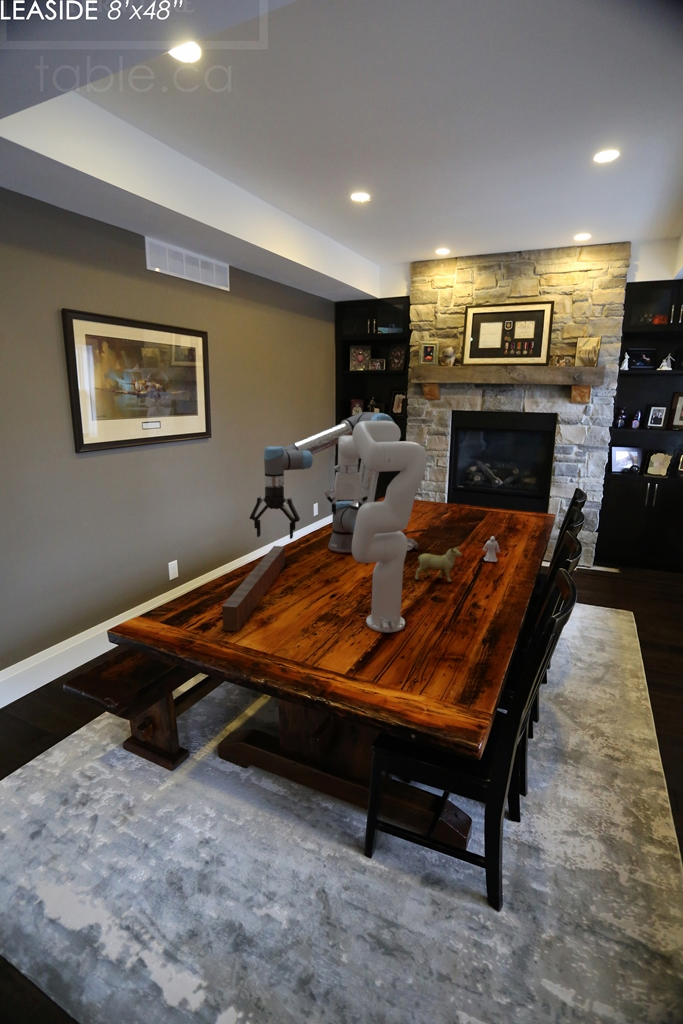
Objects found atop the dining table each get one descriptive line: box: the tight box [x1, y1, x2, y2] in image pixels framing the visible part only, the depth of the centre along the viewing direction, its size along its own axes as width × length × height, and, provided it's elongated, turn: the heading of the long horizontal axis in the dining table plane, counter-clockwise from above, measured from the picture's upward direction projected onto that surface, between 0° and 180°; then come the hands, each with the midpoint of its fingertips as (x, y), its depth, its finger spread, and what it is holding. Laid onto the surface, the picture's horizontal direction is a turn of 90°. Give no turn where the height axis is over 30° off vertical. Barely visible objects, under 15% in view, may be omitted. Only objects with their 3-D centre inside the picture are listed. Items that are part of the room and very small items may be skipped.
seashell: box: [406, 537, 419, 552], centre depth 237 cm, size 8×5×8 cm
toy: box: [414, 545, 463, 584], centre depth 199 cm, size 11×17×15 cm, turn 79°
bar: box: [221, 545, 286, 633], centre depth 184 cm, size 61×5×8 cm, turn 172°
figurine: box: [482, 535, 501, 563], centre depth 223 cm, size 8×8×12 cm
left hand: (275, 537), depth 204 cm, fingers open, 13 cm apart
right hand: (347, 513), depth 191 cm, fingers open, 9 cm apart
